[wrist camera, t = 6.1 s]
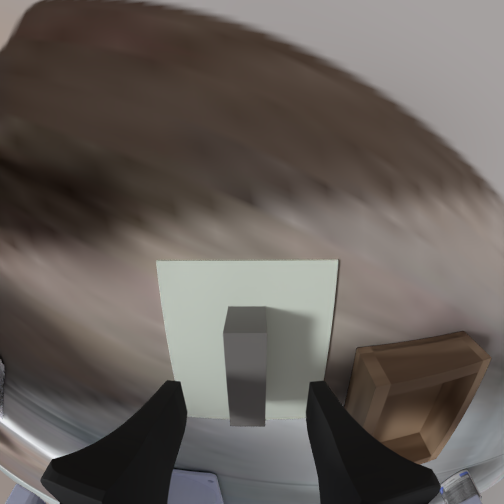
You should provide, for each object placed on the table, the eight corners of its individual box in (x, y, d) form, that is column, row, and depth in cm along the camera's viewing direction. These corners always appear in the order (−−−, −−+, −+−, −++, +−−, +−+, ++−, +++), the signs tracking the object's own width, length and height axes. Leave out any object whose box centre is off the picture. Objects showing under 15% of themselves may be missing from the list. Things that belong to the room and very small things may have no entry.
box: (421, 430, 17) (435, 458, 14) (331, 449, 17) (339, 484, 14) (463, 330, 14) (491, 357, 11) (356, 347, 15) (376, 386, 11)
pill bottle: (433, 488, 22) (450, 531, 14) (460, 468, 21) (481, 511, 12) (446, 488, 22) (463, 526, 14) (471, 468, 21) (491, 507, 13)
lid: (314, 409, 17) (322, 445, 14) (185, 408, 17) (175, 444, 14) (334, 255, 14) (354, 279, 11) (161, 256, 14) (136, 279, 11)
